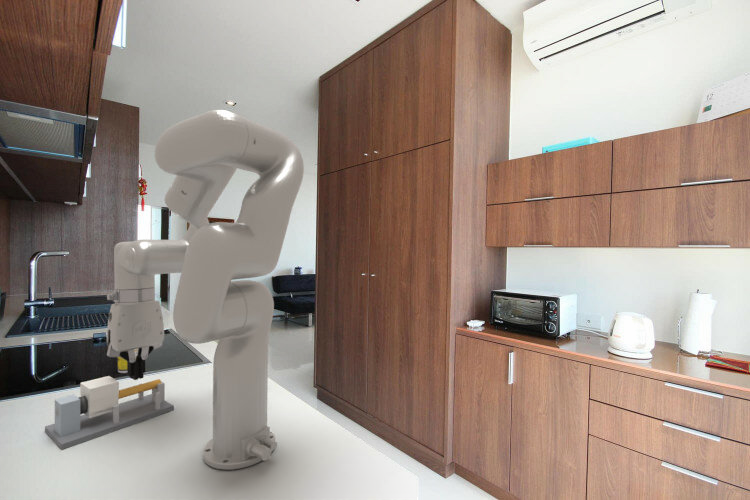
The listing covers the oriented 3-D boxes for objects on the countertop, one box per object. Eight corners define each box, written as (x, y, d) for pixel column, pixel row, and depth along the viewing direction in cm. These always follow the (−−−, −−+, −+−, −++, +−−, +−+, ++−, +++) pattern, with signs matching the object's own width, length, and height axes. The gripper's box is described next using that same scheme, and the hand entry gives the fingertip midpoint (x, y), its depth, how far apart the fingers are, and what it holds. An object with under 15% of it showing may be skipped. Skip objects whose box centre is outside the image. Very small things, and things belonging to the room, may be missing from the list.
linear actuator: (152, 397, 88) (152, 368, 88) (173, 409, 82) (174, 378, 82) (44, 431, 72) (45, 396, 72) (61, 449, 66) (61, 411, 66)
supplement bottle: (121, 368, 109) (121, 336, 109) (141, 366, 111) (141, 335, 111) (114, 374, 104) (114, 341, 104) (135, 372, 106) (136, 339, 106)
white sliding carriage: (108, 402, 79) (108, 375, 79) (118, 409, 75) (118, 381, 75) (80, 410, 75) (80, 382, 75) (89, 418, 71) (89, 389, 71)
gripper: (101, 301, 72) (102, 392, 72) (177, 293, 84) (178, 371, 84) (88, 299, 76) (89, 385, 76) (162, 292, 88) (163, 366, 88)
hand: (136, 377), depth 80 cm, fingers closed
